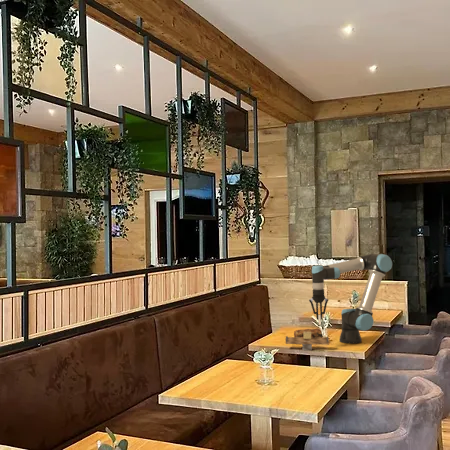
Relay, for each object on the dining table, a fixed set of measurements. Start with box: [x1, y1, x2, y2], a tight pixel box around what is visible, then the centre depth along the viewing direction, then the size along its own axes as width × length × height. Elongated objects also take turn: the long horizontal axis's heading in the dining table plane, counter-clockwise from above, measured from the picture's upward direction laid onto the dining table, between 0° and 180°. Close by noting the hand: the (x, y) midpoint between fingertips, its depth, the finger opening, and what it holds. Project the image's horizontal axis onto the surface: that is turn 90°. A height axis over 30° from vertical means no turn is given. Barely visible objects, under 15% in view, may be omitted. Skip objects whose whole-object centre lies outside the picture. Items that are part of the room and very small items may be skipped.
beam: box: [285, 335, 330, 352], centre depth 366 cm, size 28×8×8 cm, turn 81°
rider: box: [303, 332, 311, 339], centre depth 366 cm, size 5×6×5 cm
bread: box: [293, 328, 324, 338], centre depth 385 cm, size 19×11×10 cm, turn 91°
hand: (319, 324), depth 365 cm, fingers closed
